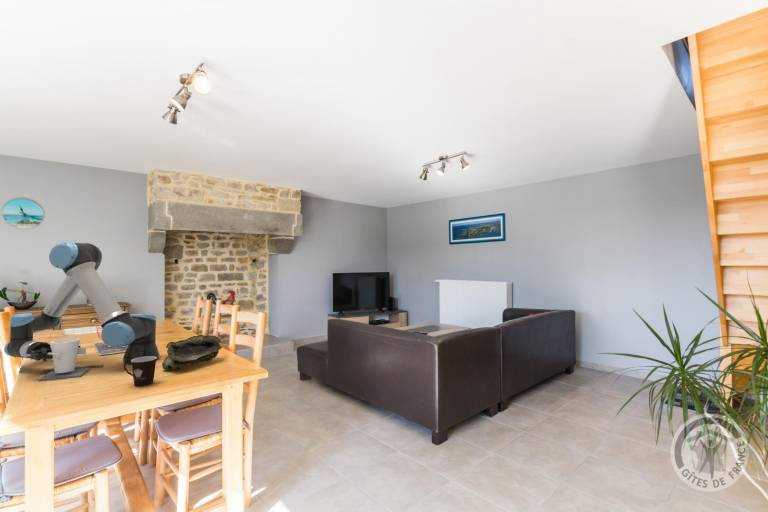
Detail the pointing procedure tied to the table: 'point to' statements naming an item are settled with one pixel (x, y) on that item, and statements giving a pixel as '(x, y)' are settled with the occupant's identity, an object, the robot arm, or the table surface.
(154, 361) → the coffee mug
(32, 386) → the table surface
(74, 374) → the mat
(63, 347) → the foam cup
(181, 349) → the hollow geode rock
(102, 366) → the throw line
